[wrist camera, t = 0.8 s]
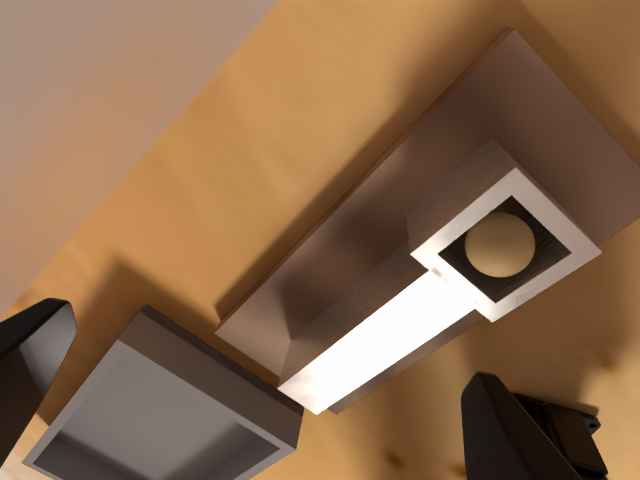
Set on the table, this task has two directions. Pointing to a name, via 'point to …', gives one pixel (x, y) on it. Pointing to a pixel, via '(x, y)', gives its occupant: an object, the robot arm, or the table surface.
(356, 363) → the square nut with handle
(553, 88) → the stud board
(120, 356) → the tray
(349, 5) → the table surface
